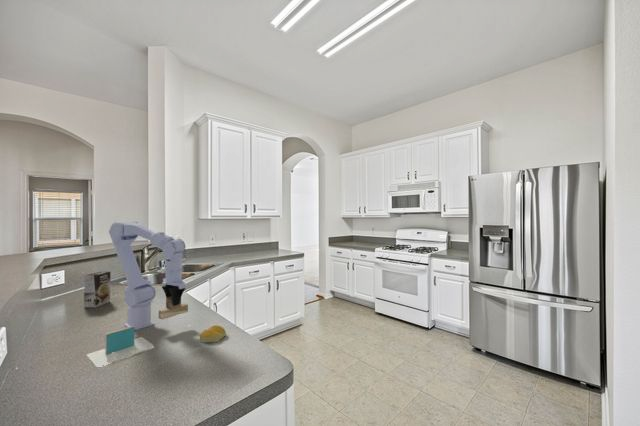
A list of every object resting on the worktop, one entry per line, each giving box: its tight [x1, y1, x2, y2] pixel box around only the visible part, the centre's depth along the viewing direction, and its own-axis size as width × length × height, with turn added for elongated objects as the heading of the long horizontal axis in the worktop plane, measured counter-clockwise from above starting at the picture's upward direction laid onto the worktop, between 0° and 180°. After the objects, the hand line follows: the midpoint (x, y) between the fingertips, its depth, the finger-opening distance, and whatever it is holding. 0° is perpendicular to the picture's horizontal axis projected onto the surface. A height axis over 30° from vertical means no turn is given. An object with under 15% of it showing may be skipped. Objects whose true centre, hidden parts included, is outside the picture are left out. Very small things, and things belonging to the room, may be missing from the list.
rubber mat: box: [86, 336, 154, 368], centre depth 90 cm, size 13×16×1 cm
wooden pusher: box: [158, 296, 189, 320], centre depth 107 cm, size 4×10×7 cm, turn 144°
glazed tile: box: [104, 326, 136, 354], centre depth 91 cm, size 2×8×6 cm, turn 143°
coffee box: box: [83, 271, 112, 308], centre depth 137 cm, size 9×6×16 cm
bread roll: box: [199, 325, 227, 343], centre depth 100 cm, size 8×9×4 cm
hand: (173, 303), depth 107 cm, fingers closed on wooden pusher, 4 cm apart
